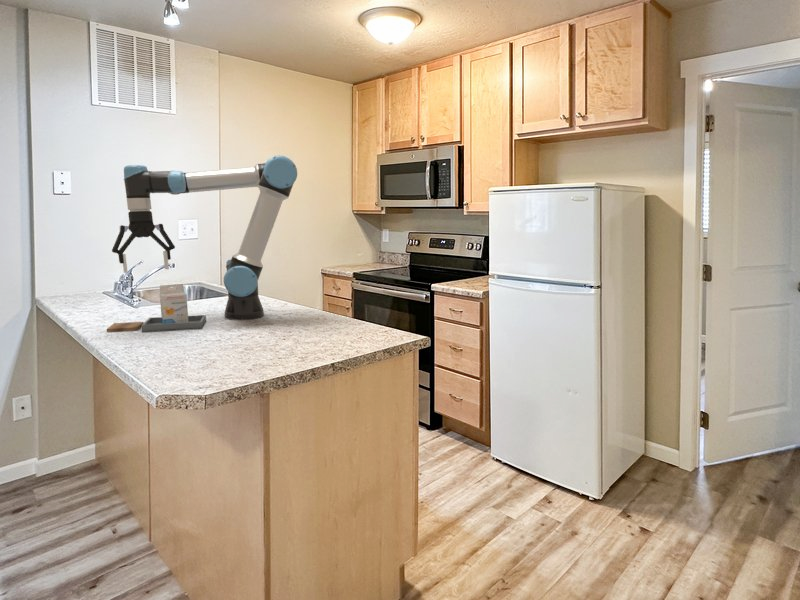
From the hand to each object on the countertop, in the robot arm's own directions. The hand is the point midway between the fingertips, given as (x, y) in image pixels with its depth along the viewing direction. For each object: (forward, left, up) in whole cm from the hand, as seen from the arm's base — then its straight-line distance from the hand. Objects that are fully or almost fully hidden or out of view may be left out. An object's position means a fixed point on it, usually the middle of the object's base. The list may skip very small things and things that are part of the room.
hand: (146, 270), depth 189 cm
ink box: (-8, 0, -21) cm, 22 cm away
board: (+9, -1, -21) cm, 23 cm away
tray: (-8, 0, -21) cm, 22 cm away
